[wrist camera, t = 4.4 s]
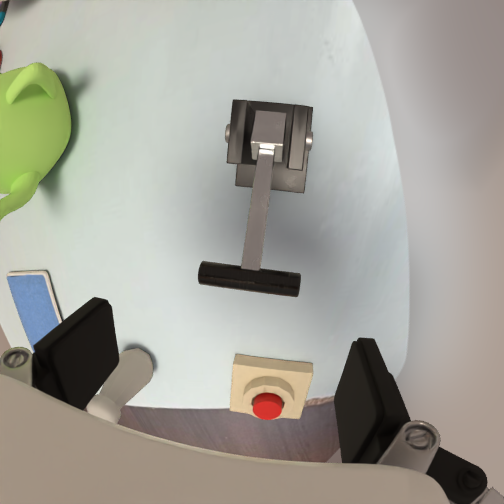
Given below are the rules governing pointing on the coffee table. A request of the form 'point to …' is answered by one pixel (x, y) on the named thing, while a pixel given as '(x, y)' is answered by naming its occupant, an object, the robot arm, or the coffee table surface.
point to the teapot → (30, 131)
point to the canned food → (0, 58)
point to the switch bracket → (295, 146)
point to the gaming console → (3, 9)
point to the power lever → (257, 219)
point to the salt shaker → (122, 384)
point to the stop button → (267, 406)
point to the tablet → (34, 303)
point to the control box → (270, 383)
